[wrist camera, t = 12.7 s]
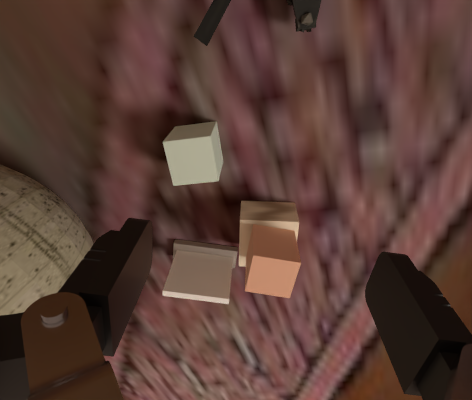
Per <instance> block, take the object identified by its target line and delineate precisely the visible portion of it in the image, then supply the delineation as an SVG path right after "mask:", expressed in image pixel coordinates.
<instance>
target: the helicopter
mask: <svg viewBox="0 0 472 400" xmlns="http://www.w3.org/2000/svg"><path fill="white" fill-rule="evenodd" d="M230 1H231V0H213V2H212V4H211V6H210V8H209V10H208V11H207V13H206V15H205V17H204V19H203V20H202V22H201V24H200V26H199V28H198V30H197V31H196V33H195V35H194V37H195V38H197V39H198V40H199V41H201V42H202V43H204V44H205V45H206V46H207V45H208V43H209V41H210V39H211V37H212V35H213V33H214V32H215V30H216V28H217V26H218V24H219V22H220V20H221V18H222V16H223V14H224V13H225V11H226V9H227V7H228V5H229V3H230ZM287 3H288V5H292V4H293V8H294V12H295V16H296V19H295V23H296V32H297V31H302V32H304V30H307V32H311V28H315V27H316V20H317V16H318V12H319V8H320V3H321V0H287Z"/></svg>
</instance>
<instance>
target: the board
mask: <svg viewBox="0 0 472 400" xmlns="http://www.w3.org/2000/svg"><path fill="white" fill-rule="evenodd" d="M237 251H238V247H232V246H224V245H216V244H209V243H201V242H193V241H185V240H178V239H175V241H174V247H173V263H172V266H171V268H170V271H169V274H168V277H167V280H166V283H165V286H164V289H163V296H169V297H177V298H185V299H193V300H201V301H209V302H217V303H225V304H229V296H230V285H231V274H232V268H235V264H236V258H237Z"/></svg>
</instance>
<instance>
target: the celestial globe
mask: <svg viewBox="0 0 472 400" xmlns="http://www.w3.org/2000/svg"><path fill="white" fill-rule="evenodd" d="M92 246H93V241H92V239H91V237H90V235H89V233H88V232H87V230H86V229H85V227H84V225H83V224H82V222H81V221H80V219H79V218H78V216H77V215H76V214H75V213H74V212H73V210H72V209H71V208H70V207H69V206H68V205H67V204H66V203H65V202H64V201H63V200H62V199H61V198H60V197H58V196H57V195H56V194H55V193H54V192H52V191H51V190H50V189H48V188H47V187H45V186H43V185H42V184H40V183H38V182H37V181H35V180H33V179H32V178H30V177H28V176H26V175H24V174H22V173H19V172H17V171H15V170H12V169H10V168H8V167H5V166H3V165H0V316H1V315H9V314H17V313H22V312H25V310H26V309H27V308H28V307H29V306H30V305H31V304H32V303H34V302H35V301H37V300H38V299H40V298H42V297H44V296H47V295H50V294H54V293H58V291H59V290H60V289H61V287H62V286H63V285H64V283H65V282H66V281H67V279H68V278H69V277H70V275H71V274H72V273H73V271H74V270H75V268H76V267H77V266H78V264H79V263H80V262H81V260H82V259H84V256H85V255H86V254H87V252H88V251H90V248H91V247H92Z"/></svg>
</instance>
